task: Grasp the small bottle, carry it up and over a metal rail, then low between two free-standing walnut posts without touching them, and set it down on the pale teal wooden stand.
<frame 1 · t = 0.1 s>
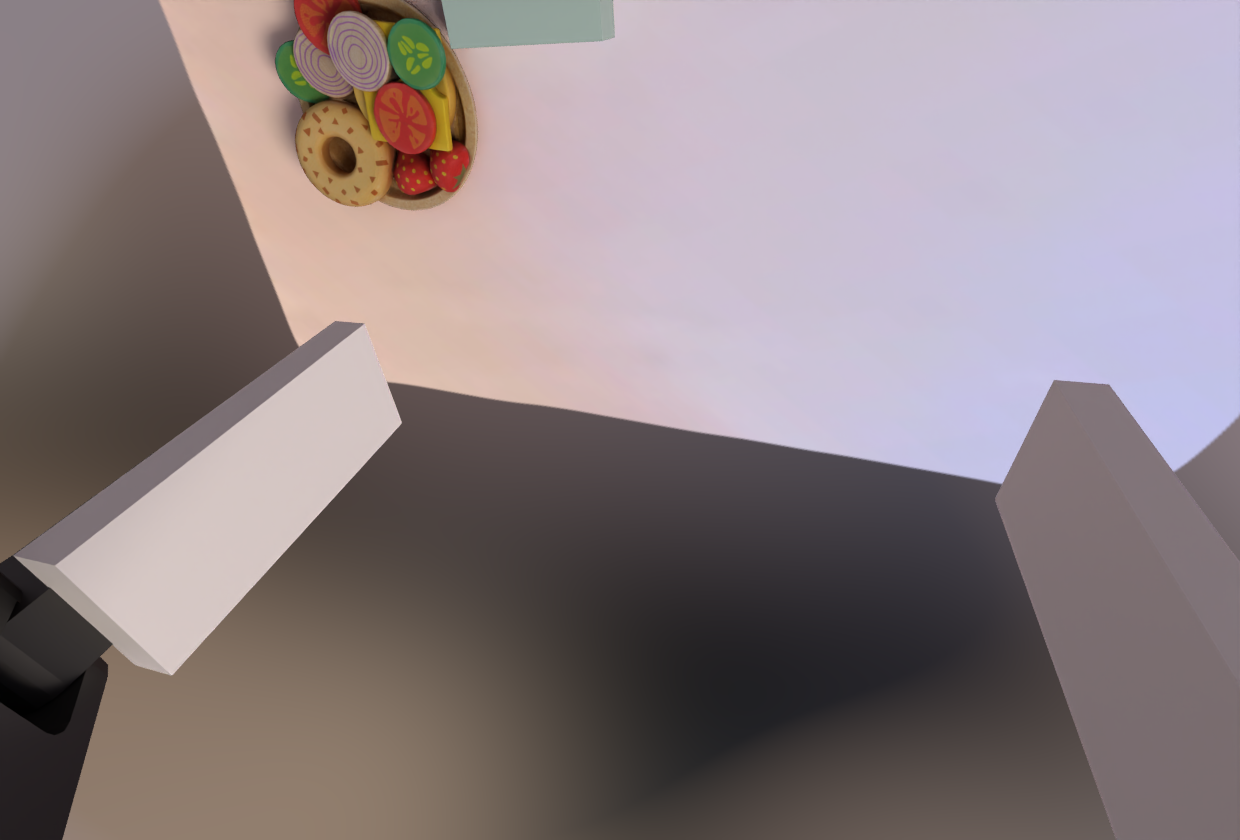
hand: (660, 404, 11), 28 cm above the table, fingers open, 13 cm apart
toy food set: (394, 102, 38), on the table
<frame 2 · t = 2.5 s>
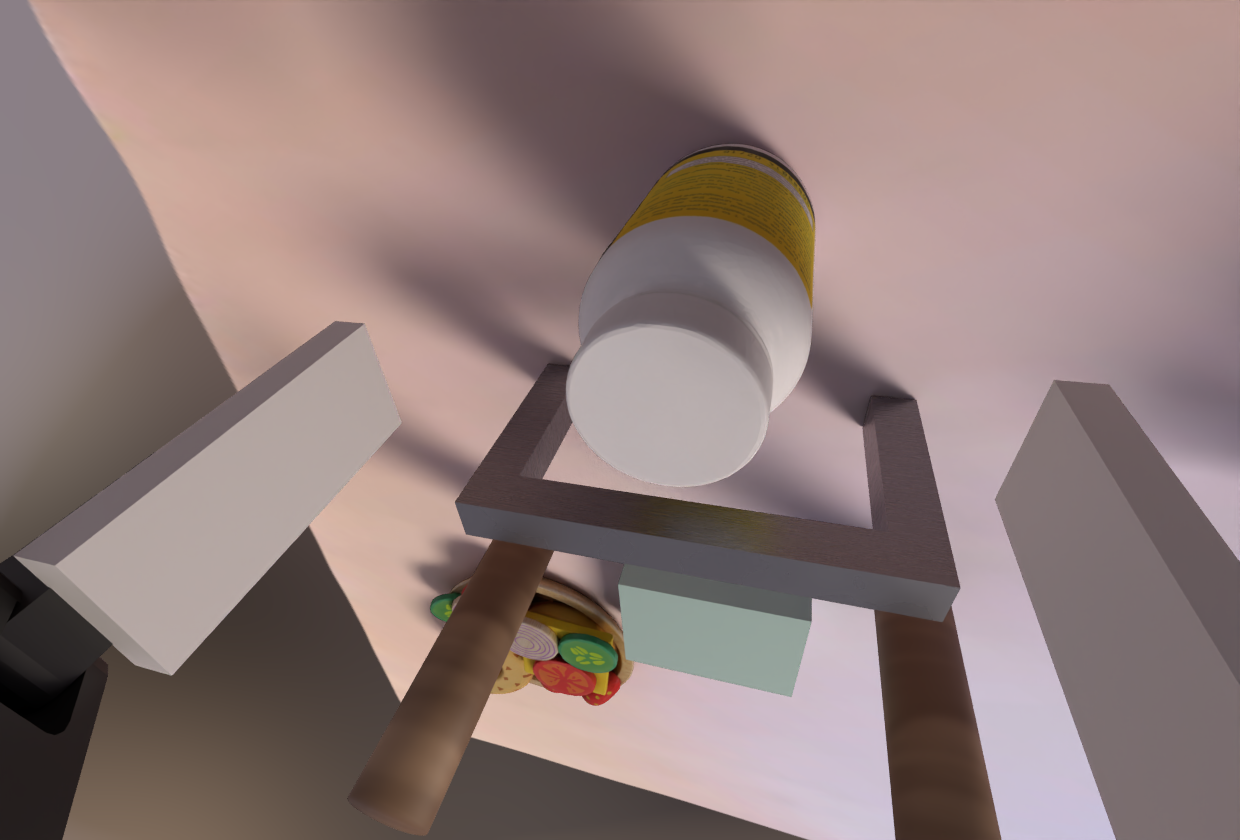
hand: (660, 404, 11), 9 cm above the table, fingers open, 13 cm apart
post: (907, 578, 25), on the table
stand: (714, 600, 30), on the table
toy food set: (541, 618, 37), on the table
rail hurdle: (716, 396, 22), on the table
supplement bottle: (726, 229, 18), on the table
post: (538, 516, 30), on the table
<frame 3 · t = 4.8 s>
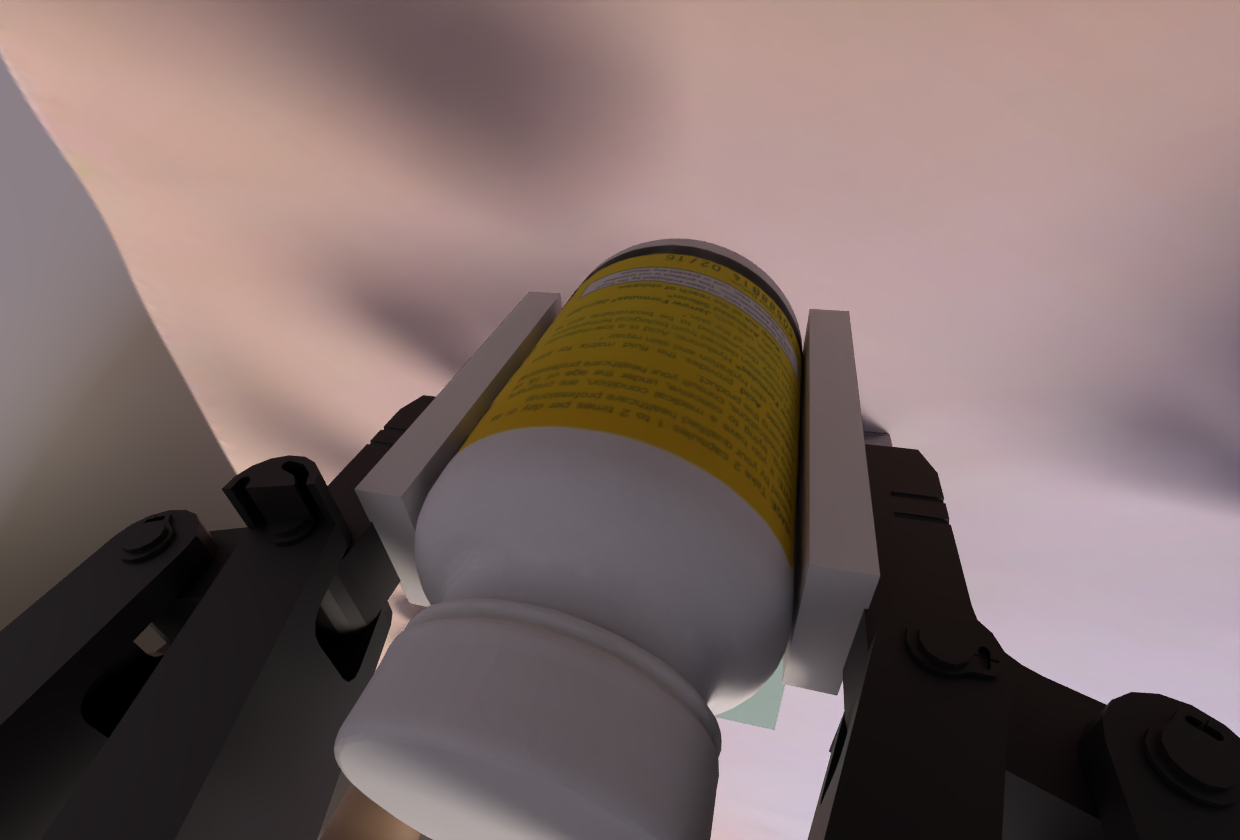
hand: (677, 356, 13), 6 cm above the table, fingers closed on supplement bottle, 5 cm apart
stand: (695, 631, 30), on the table
rail hurdle: (692, 430, 22), on the table
supplement bottle: (681, 342, 13), point 6 cm above the table, touching gripper
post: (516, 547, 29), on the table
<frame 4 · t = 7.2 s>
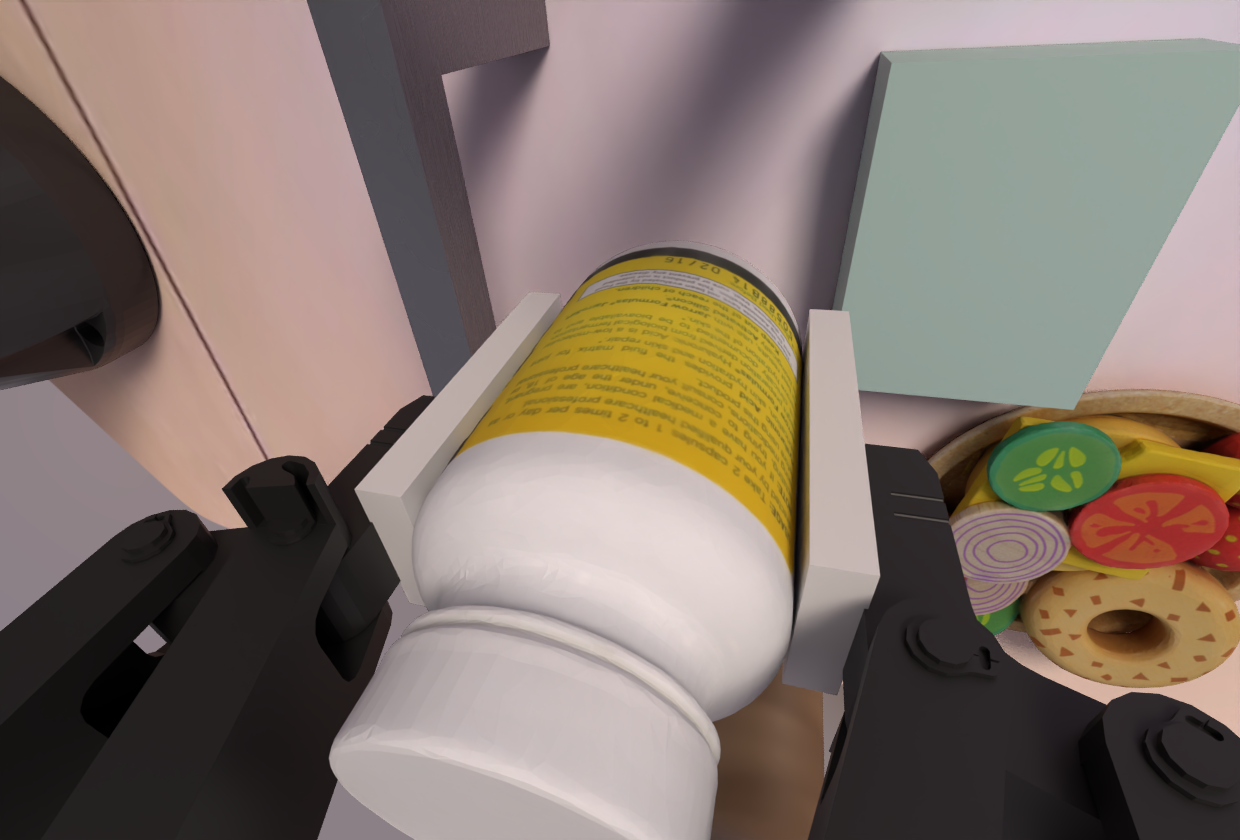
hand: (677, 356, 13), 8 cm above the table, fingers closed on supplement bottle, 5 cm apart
stand: (973, 226, 17), on the table
toy food set: (1060, 509, 22), on the table
rail hurdle: (550, 229, 20), on the table
supplement bottle: (681, 344, 13), point 7 cm above the table, touching gripper
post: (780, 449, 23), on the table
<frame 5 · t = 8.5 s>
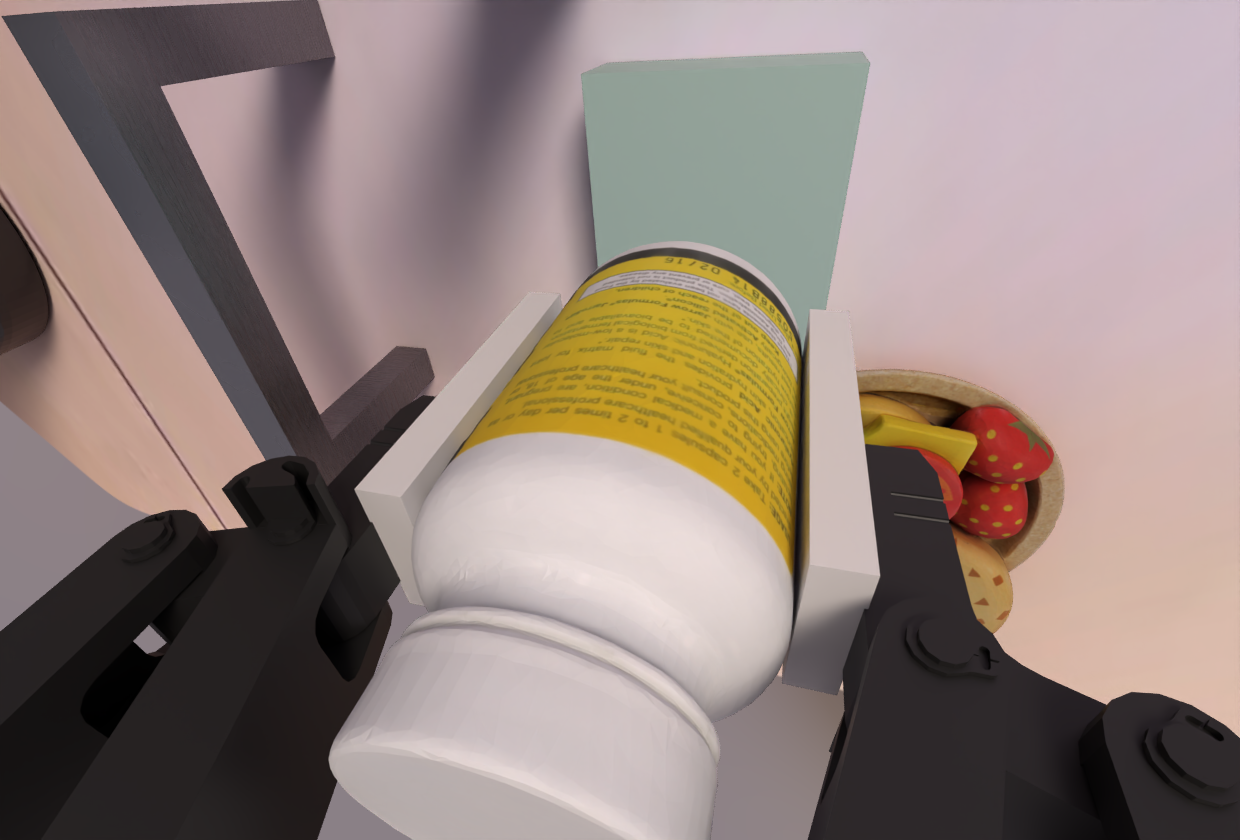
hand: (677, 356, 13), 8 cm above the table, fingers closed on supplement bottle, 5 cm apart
stand: (719, 220, 18), on the table
toy food set: (861, 484, 24), on the table
rail hurdle: (370, 224, 22), on the table
supplement bottle: (681, 344, 13), point 7 cm above the table, touching gripper
when the fingers open (3 cm above the table, at t = 9.5 s): supplement bottle stays where it is, resting on stand.
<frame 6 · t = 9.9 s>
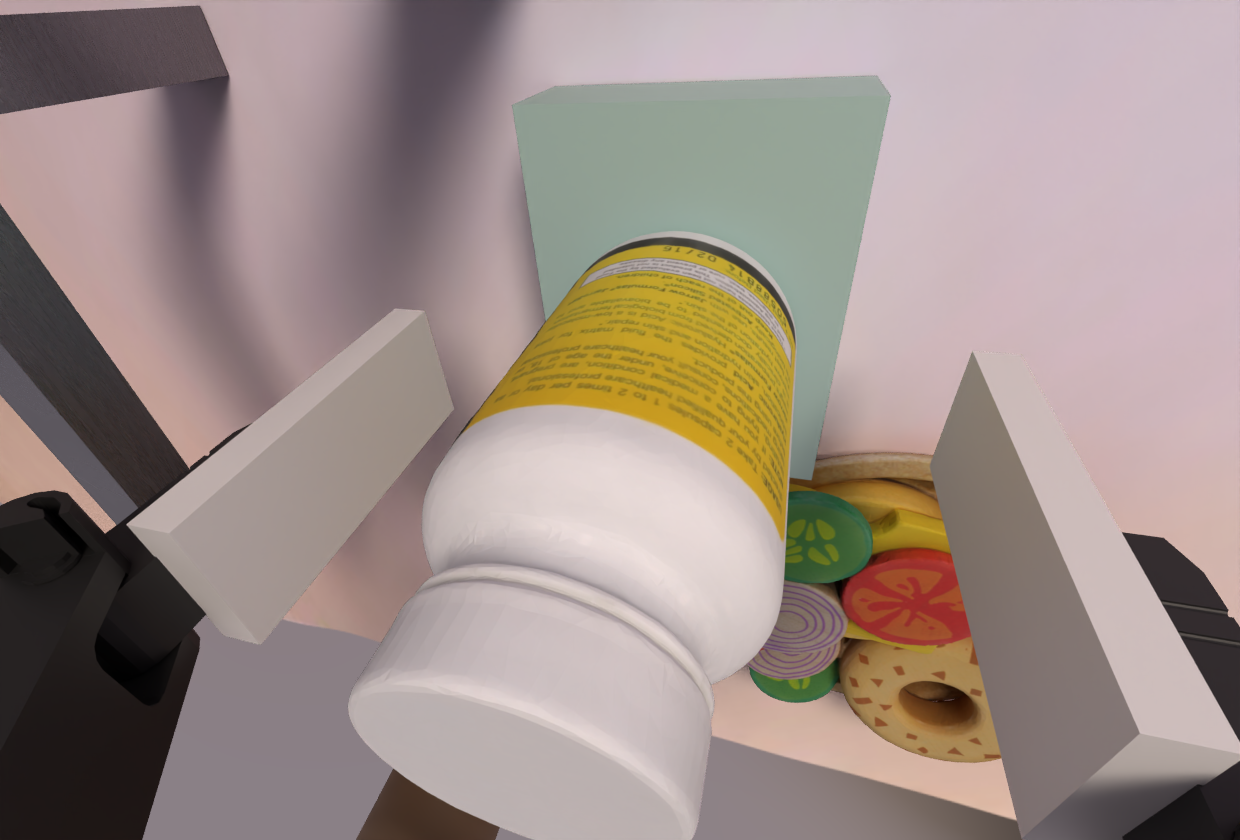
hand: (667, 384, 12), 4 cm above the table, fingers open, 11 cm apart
stand: (699, 276, 15), on the table
toy food set: (869, 568, 21), on the table
rail hurdle: (290, 270, 18), on the table
supplement bottle: (679, 333, 14), point 2 cm above the table, touching stand
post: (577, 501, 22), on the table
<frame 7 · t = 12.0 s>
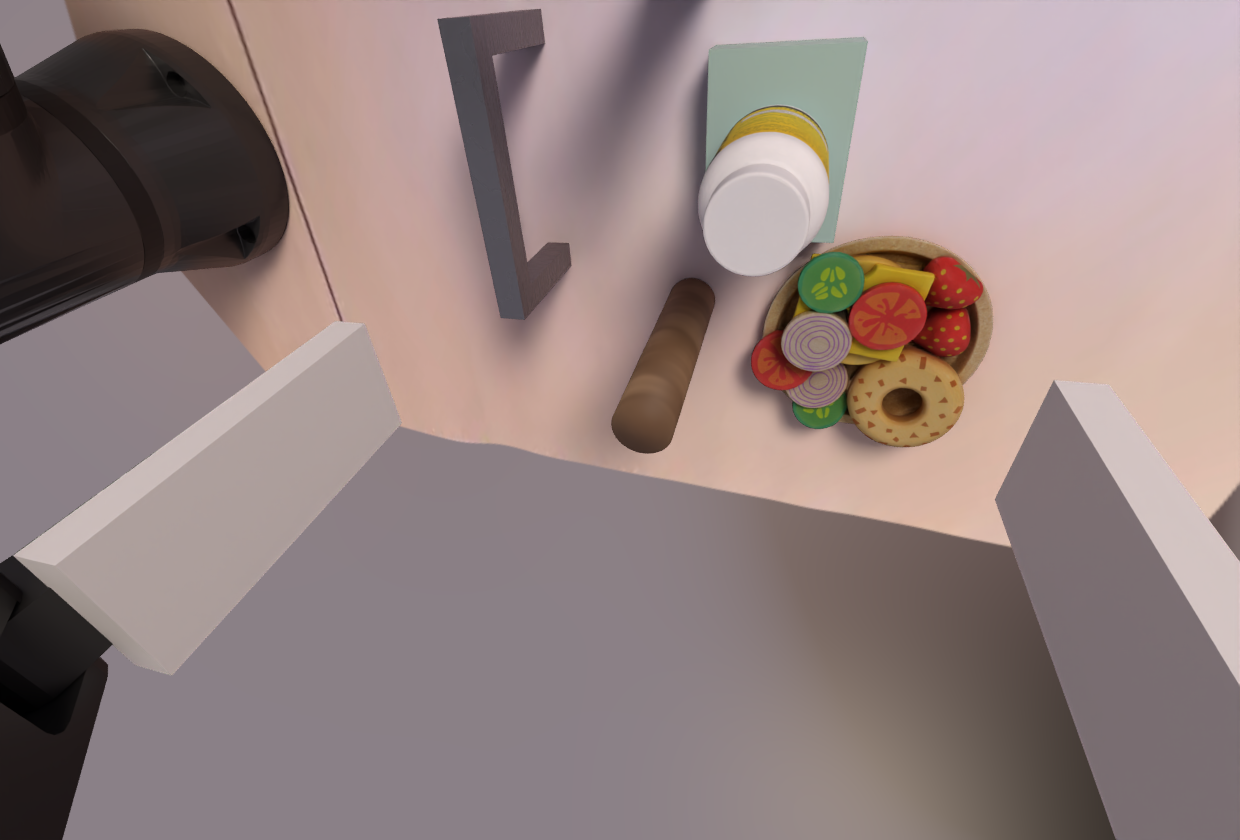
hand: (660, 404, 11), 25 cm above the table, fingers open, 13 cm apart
stand: (777, 141, 30), on the table
toy food set: (864, 332, 36), on the table
rail hurdle: (546, 153, 34), on the table
supplement bottle: (772, 161, 29), point 2 cm above the table, touching stand
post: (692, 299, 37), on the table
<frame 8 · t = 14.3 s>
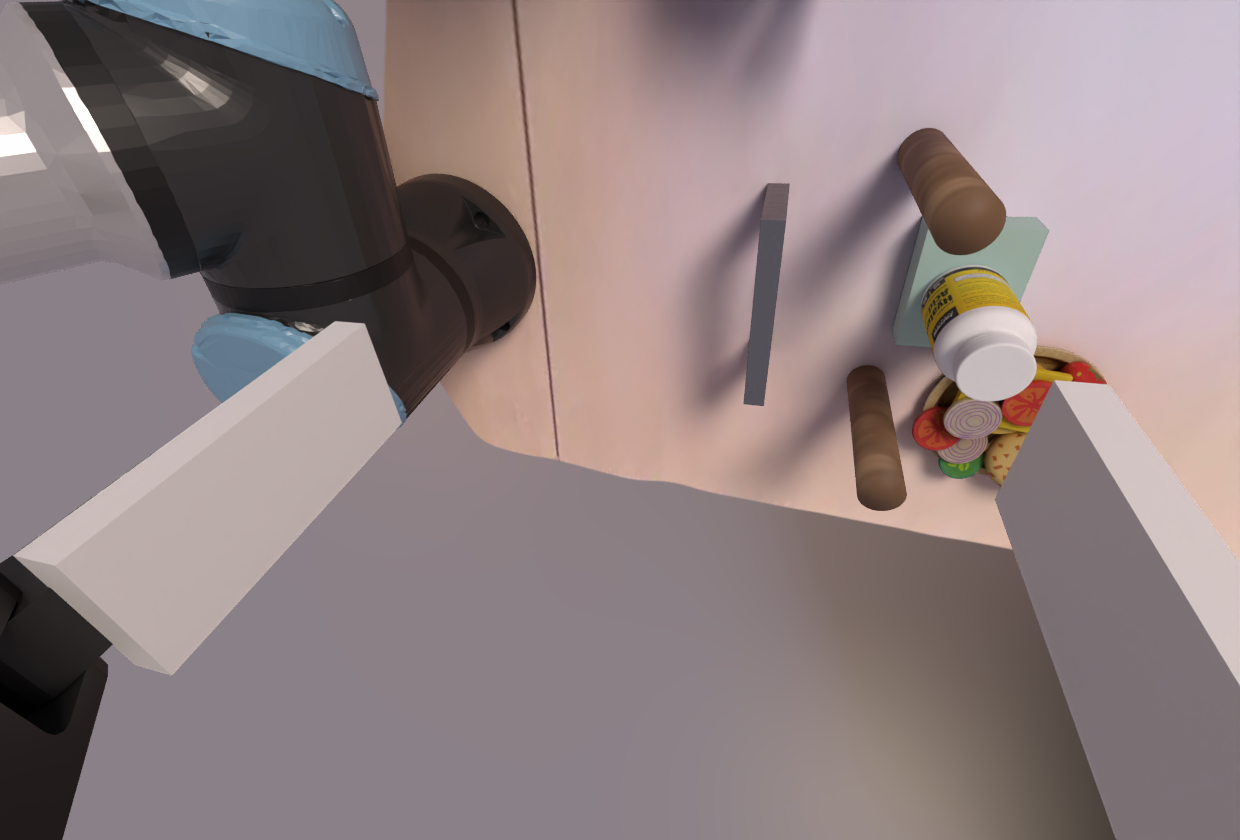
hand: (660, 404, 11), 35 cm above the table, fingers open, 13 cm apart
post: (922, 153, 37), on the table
stand: (958, 278, 41), on the table
toy food set: (1001, 407, 47), on the table
rail hurdle: (768, 275, 45), on the table
supplement bottle: (961, 297, 40), point 2 cm above the table, touching stand
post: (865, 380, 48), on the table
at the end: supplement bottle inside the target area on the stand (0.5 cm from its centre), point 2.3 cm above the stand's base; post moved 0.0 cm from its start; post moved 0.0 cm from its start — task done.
